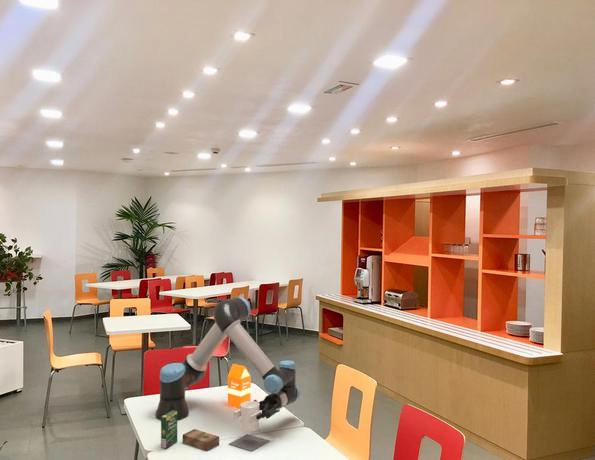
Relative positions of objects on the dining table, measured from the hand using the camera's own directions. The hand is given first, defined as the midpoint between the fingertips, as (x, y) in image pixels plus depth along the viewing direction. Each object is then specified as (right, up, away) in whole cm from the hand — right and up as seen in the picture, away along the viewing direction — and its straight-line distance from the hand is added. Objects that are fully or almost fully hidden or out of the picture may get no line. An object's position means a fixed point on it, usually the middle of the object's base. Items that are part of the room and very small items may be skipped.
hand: (242, 417), depth 206 cm
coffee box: (-30, -12, +2) cm, 33 cm away
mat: (+2, -12, +4) cm, 13 cm away
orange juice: (-7, -12, +50) cm, 52 cm away
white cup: (+3, -6, +4) cm, 8 cm away
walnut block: (-18, -12, +3) cm, 22 cm away
